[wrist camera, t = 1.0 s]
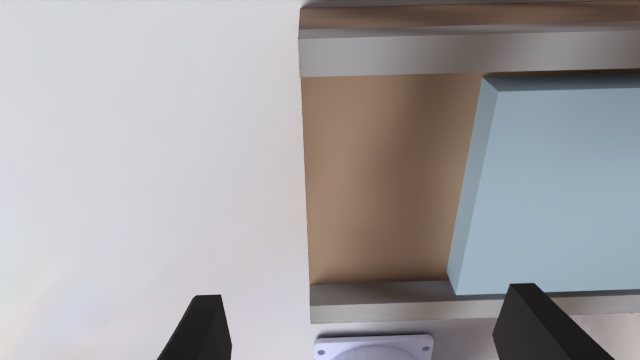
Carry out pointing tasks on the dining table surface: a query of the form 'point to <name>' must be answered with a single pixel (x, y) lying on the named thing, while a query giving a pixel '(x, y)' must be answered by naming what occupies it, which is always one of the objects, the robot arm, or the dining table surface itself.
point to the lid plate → (551, 186)
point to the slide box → (424, 141)
